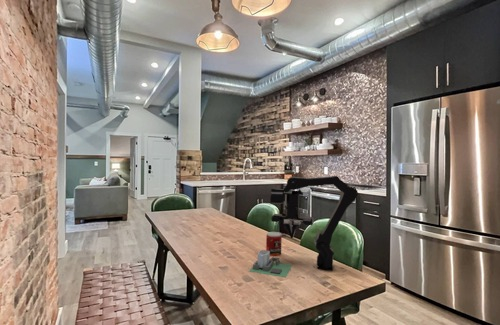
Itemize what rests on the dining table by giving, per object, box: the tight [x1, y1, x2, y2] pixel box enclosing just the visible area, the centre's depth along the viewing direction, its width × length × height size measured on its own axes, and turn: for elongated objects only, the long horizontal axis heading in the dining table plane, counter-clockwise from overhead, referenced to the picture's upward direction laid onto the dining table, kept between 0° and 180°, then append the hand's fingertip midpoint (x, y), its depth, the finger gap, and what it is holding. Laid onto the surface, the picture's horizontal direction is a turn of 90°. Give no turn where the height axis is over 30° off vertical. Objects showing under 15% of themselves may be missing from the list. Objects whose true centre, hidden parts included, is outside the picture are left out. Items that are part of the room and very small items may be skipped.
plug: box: [256, 249, 271, 268], centre depth 123 cm, size 4×6×6 cm
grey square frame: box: [252, 259, 273, 272], centre depth 123 cm, size 7×8×2 cm
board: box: [248, 256, 293, 278], centre depth 123 cm, size 16×15×3 cm
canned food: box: [265, 231, 282, 257], centre depth 142 cm, size 8×8×11 cm
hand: (291, 237), depth 129 cm, fingers closed
